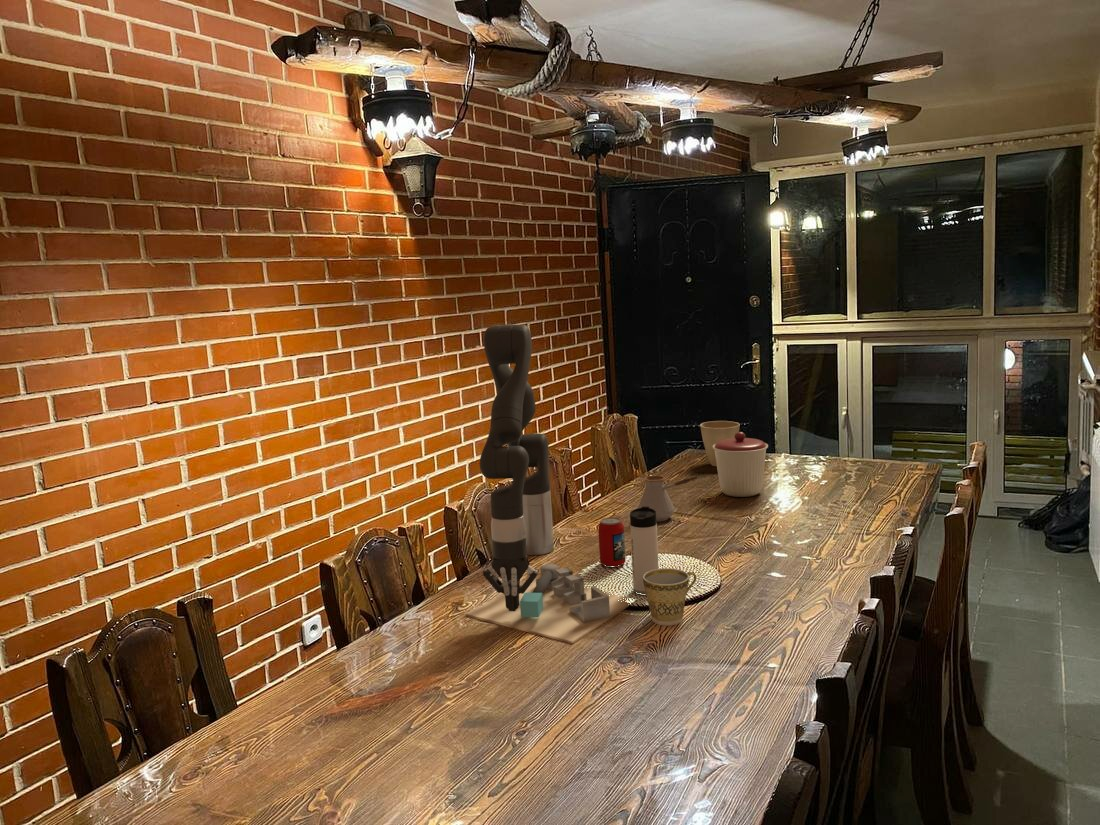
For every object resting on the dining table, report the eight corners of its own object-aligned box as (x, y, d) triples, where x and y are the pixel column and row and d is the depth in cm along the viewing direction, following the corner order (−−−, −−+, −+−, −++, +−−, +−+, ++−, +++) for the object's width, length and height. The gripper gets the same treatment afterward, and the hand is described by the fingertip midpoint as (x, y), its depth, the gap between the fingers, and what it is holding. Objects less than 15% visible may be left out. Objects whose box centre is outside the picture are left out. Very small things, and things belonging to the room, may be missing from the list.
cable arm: (543, 575, 204) (542, 561, 203) (560, 575, 203) (559, 561, 203) (520, 616, 180) (519, 601, 179) (539, 617, 179) (538, 601, 178)
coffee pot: (630, 520, 253) (628, 473, 250) (649, 511, 262) (647, 465, 259) (693, 530, 240) (691, 480, 237) (710, 519, 249) (709, 471, 246)
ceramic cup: (662, 633, 172) (660, 588, 171) (635, 617, 181) (633, 574, 179) (711, 618, 178) (709, 574, 176) (683, 604, 187) (681, 562, 185)
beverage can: (624, 568, 211) (622, 524, 210) (598, 568, 213) (596, 524, 211) (627, 559, 218) (625, 516, 216) (602, 559, 219) (599, 516, 217)
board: (465, 615, 188) (464, 605, 187) (534, 579, 208) (534, 569, 208) (572, 643, 170) (572, 632, 169) (636, 600, 190) (636, 590, 190)
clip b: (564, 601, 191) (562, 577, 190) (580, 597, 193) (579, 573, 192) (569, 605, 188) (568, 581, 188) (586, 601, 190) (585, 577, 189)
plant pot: (701, 469, 312) (700, 428, 310) (701, 460, 327) (699, 421, 324) (741, 468, 310) (740, 427, 307) (739, 459, 324) (738, 420, 322)
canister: (776, 489, 278) (774, 428, 275) (758, 502, 263) (757, 438, 260) (725, 484, 288) (723, 426, 285) (705, 497, 273) (703, 435, 270)
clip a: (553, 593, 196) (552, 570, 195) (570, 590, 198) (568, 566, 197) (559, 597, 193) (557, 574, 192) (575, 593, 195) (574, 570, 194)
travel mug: (662, 586, 198) (658, 506, 195) (656, 596, 192) (653, 514, 189) (636, 584, 200) (633, 505, 197) (630, 595, 194) (626, 513, 191)
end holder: (569, 612, 185) (568, 591, 184) (595, 605, 187) (594, 585, 187) (584, 623, 178) (582, 602, 177) (610, 617, 181) (609, 596, 180)
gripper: (474, 540, 178) (479, 615, 180) (534, 541, 175) (538, 618, 178) (484, 529, 185) (489, 602, 188) (541, 530, 182) (545, 604, 185)
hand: (513, 609), depth 183 cm, fingers closed
